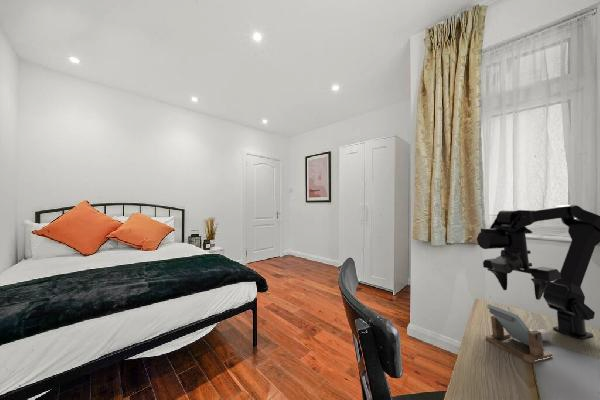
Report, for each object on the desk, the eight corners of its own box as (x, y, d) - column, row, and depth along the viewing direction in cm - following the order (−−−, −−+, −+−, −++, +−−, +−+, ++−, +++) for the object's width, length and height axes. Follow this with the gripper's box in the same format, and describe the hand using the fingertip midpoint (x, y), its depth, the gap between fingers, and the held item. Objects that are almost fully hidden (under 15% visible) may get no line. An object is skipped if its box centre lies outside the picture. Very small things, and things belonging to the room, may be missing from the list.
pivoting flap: (510, 339, 72) (513, 335, 72) (541, 355, 64) (545, 349, 64) (484, 308, 70) (488, 304, 71) (513, 320, 63) (517, 315, 63)
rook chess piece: (539, 344, 65) (560, 342, 67) (528, 327, 68) (549, 325, 70) (524, 345, 69) (545, 343, 70) (515, 329, 72) (535, 327, 73)
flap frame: (504, 334, 74) (502, 312, 74) (553, 358, 62) (550, 332, 62) (484, 338, 72) (482, 316, 73) (531, 363, 60) (528, 336, 60)
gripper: (469, 246, 82) (473, 289, 81) (532, 254, 64) (539, 310, 63) (492, 243, 85) (497, 284, 84) (559, 250, 67) (565, 303, 66)
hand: (520, 294), depth 74 cm, fingers open, 9 cm apart
